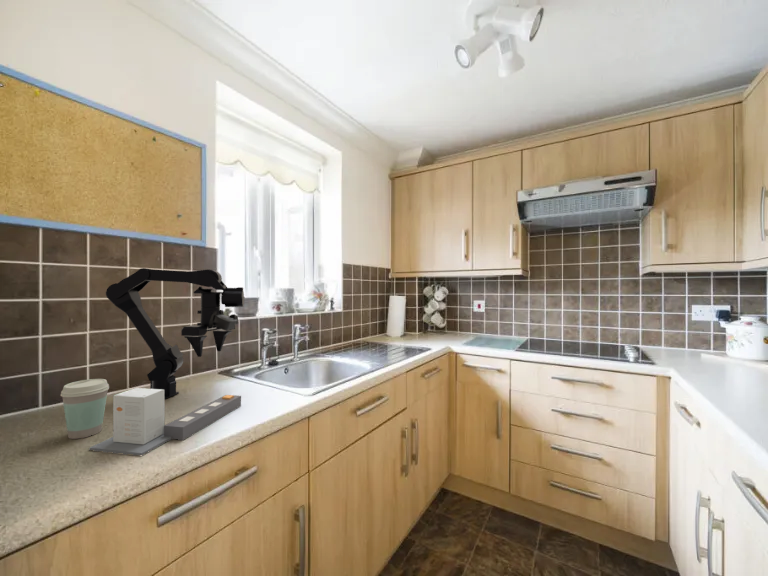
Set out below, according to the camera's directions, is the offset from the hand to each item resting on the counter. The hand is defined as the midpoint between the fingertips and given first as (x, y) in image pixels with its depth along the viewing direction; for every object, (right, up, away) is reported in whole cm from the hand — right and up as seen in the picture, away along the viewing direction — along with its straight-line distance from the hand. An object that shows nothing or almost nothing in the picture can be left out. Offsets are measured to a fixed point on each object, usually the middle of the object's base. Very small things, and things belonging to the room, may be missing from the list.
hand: (209, 353), depth 106 cm
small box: (+3, -12, -34) cm, 36 cm away
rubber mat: (+3, -13, -34) cm, 36 cm away
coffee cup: (-13, -13, -30) cm, 35 cm away
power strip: (+12, -13, -22) cm, 28 cm away
